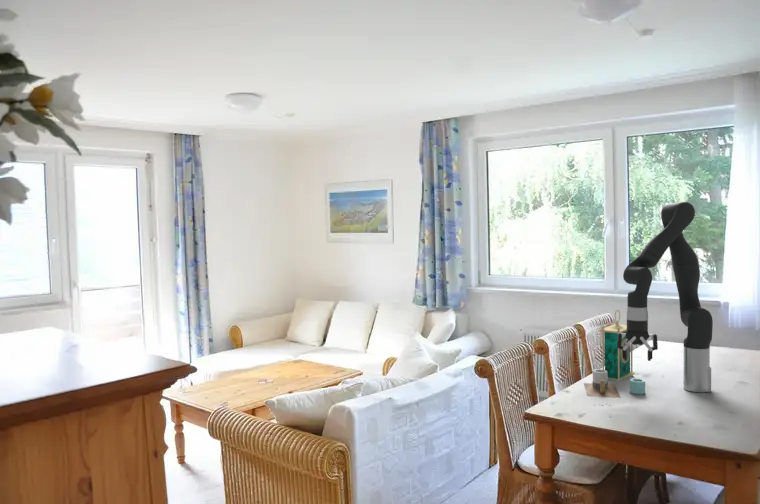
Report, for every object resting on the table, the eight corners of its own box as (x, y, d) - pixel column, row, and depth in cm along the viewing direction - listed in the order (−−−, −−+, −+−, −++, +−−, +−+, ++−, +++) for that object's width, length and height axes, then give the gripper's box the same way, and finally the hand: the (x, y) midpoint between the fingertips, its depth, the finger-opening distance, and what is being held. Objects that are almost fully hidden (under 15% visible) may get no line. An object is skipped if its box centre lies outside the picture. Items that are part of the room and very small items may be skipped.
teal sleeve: (643, 395, 232) (643, 378, 232) (646, 399, 227) (646, 382, 227) (629, 394, 234) (628, 378, 233) (631, 398, 228) (631, 381, 228)
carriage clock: (620, 384, 247) (620, 313, 246) (599, 381, 253) (599, 311, 252) (635, 376, 260) (635, 308, 258) (614, 373, 266) (614, 306, 264)
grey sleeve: (603, 384, 243) (602, 368, 242) (609, 388, 238) (609, 372, 237) (590, 385, 242) (590, 369, 242) (597, 389, 237) (597, 373, 236)
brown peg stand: (614, 388, 243) (614, 372, 242) (620, 401, 225) (620, 384, 225) (583, 386, 246) (583, 371, 245) (587, 399, 228) (587, 383, 228)
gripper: (655, 317, 231) (655, 358, 231) (616, 316, 234) (616, 357, 235) (659, 320, 223) (658, 363, 224) (618, 319, 227) (618, 361, 228)
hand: (637, 360), depth 230 cm, fingers open, 8 cm apart
